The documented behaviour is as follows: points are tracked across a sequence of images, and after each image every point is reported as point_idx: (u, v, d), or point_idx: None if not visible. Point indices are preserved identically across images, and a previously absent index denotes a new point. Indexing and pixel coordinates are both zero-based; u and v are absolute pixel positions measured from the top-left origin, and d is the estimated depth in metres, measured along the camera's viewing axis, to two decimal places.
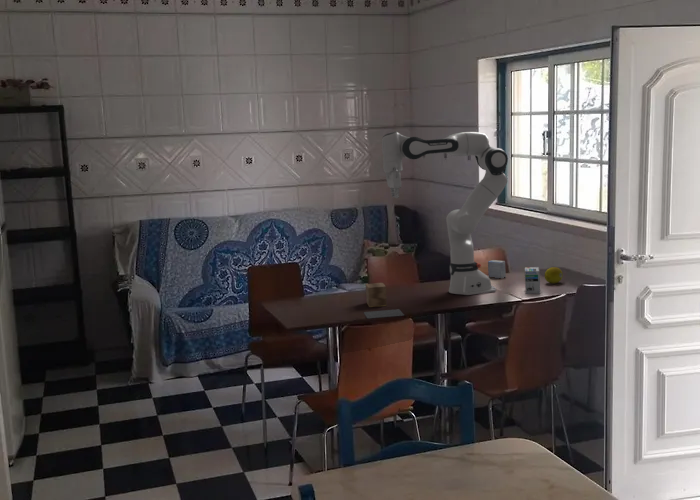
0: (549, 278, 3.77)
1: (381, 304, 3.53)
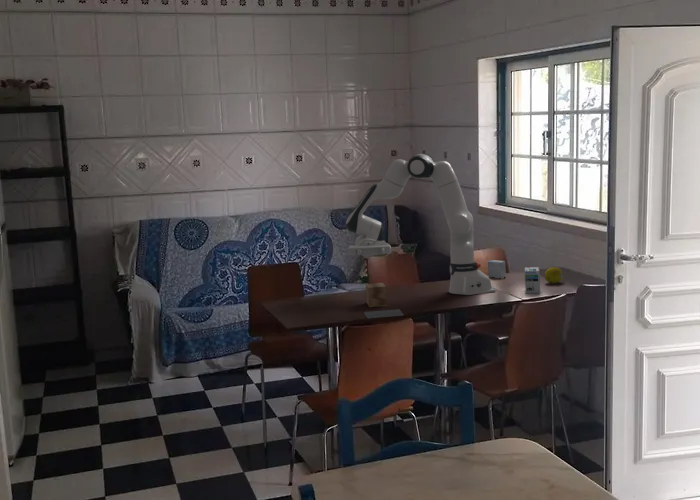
0: (549, 278, 3.77)
1: (381, 304, 3.53)
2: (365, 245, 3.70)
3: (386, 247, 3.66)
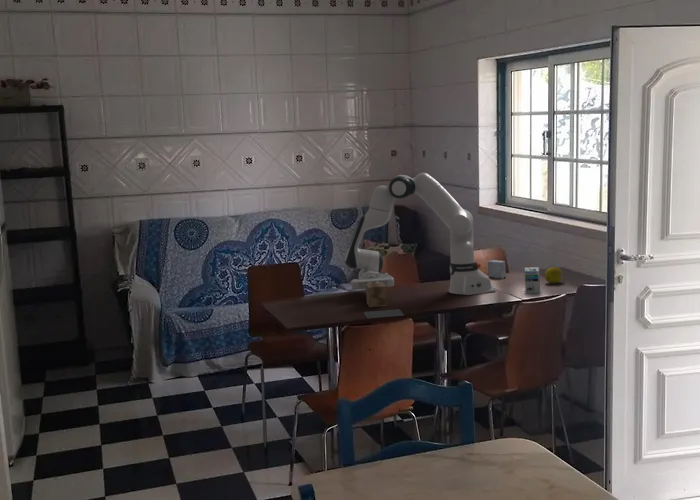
0: (549, 278, 3.77)
1: (381, 304, 3.53)
2: (368, 278, 3.70)
3: (389, 280, 3.66)
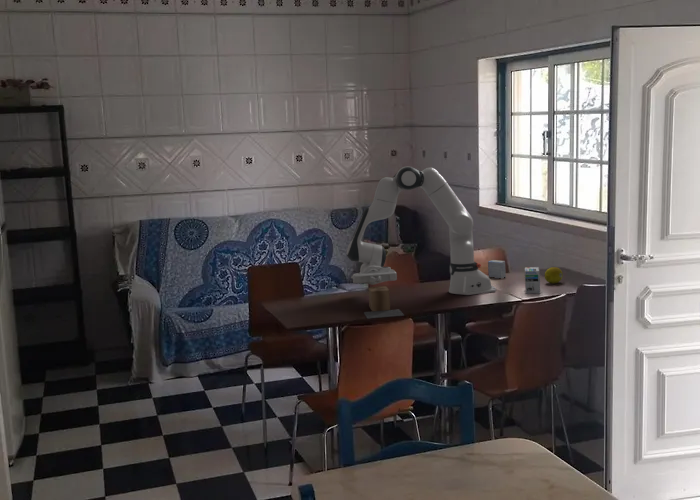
0: (549, 278, 3.77)
1: None
2: (370, 272, 3.61)
3: (391, 274, 3.56)
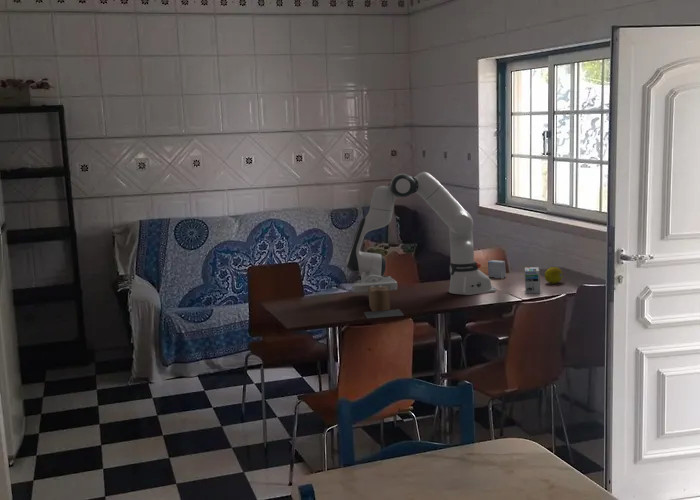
0: (549, 278, 3.77)
1: None
2: (371, 282, 3.62)
3: (392, 283, 3.57)
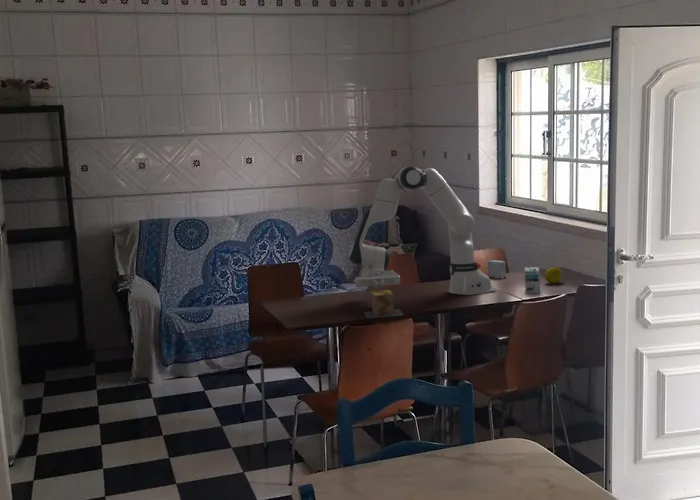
0: (549, 278, 3.77)
1: None
2: (373, 276, 3.52)
3: (395, 277, 3.48)
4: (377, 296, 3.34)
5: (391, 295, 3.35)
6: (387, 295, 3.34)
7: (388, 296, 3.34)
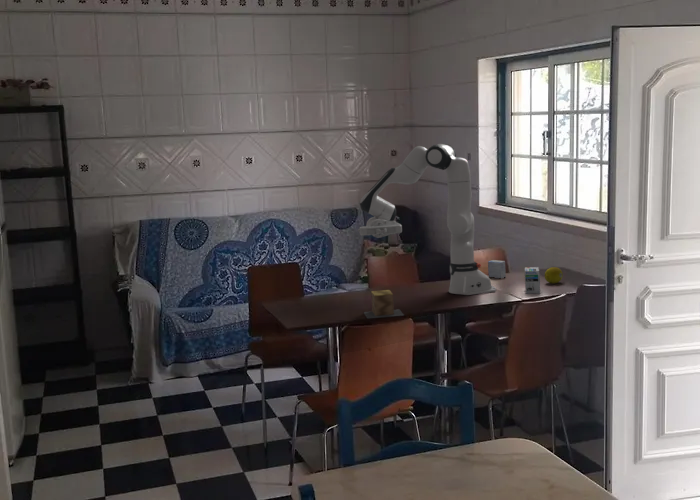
0: (549, 278, 3.77)
1: None
2: (376, 225, 3.72)
3: (397, 226, 3.68)
4: (377, 296, 3.34)
5: (391, 295, 3.35)
6: (387, 295, 3.34)
7: (388, 296, 3.34)
